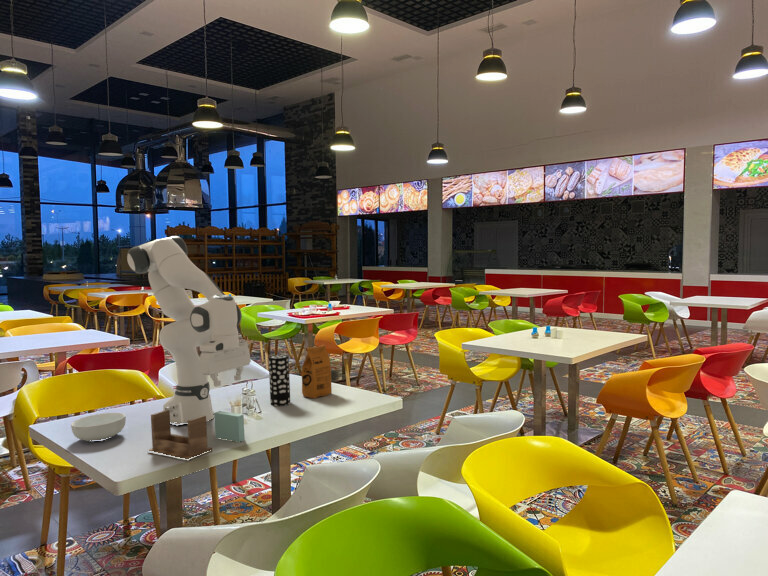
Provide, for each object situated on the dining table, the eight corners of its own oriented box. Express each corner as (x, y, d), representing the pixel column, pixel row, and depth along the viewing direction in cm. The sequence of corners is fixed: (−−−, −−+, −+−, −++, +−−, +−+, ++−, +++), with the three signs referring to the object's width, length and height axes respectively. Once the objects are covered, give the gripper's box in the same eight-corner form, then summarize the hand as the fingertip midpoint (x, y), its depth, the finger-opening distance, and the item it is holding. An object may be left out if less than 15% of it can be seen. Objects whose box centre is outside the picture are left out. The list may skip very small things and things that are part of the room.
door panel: (215, 438, 189) (214, 412, 189) (220, 436, 192) (219, 411, 191) (239, 442, 184) (238, 416, 184) (244, 440, 186) (243, 414, 186)
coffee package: (299, 396, 245) (297, 347, 244) (320, 390, 254) (318, 343, 253) (313, 399, 238) (311, 349, 237) (334, 393, 247) (333, 345, 246)
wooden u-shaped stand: (148, 453, 177) (145, 416, 176) (173, 443, 185) (171, 408, 185) (187, 461, 168) (185, 422, 167) (212, 450, 177) (210, 414, 176)
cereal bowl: (114, 428, 205) (113, 409, 205) (135, 436, 194) (133, 417, 194) (64, 440, 192) (63, 420, 192) (84, 450, 181) (82, 429, 181)
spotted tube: (266, 405, 230) (264, 358, 229) (276, 400, 238) (274, 354, 237) (284, 406, 228) (282, 358, 227) (293, 401, 236) (292, 355, 235)
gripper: (240, 338, 197) (242, 376, 197) (195, 347, 179) (198, 389, 179) (253, 338, 194) (255, 377, 194) (209, 347, 176) (212, 390, 176)
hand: (227, 383), depth 187 cm, fingers open, 8 cm apart
